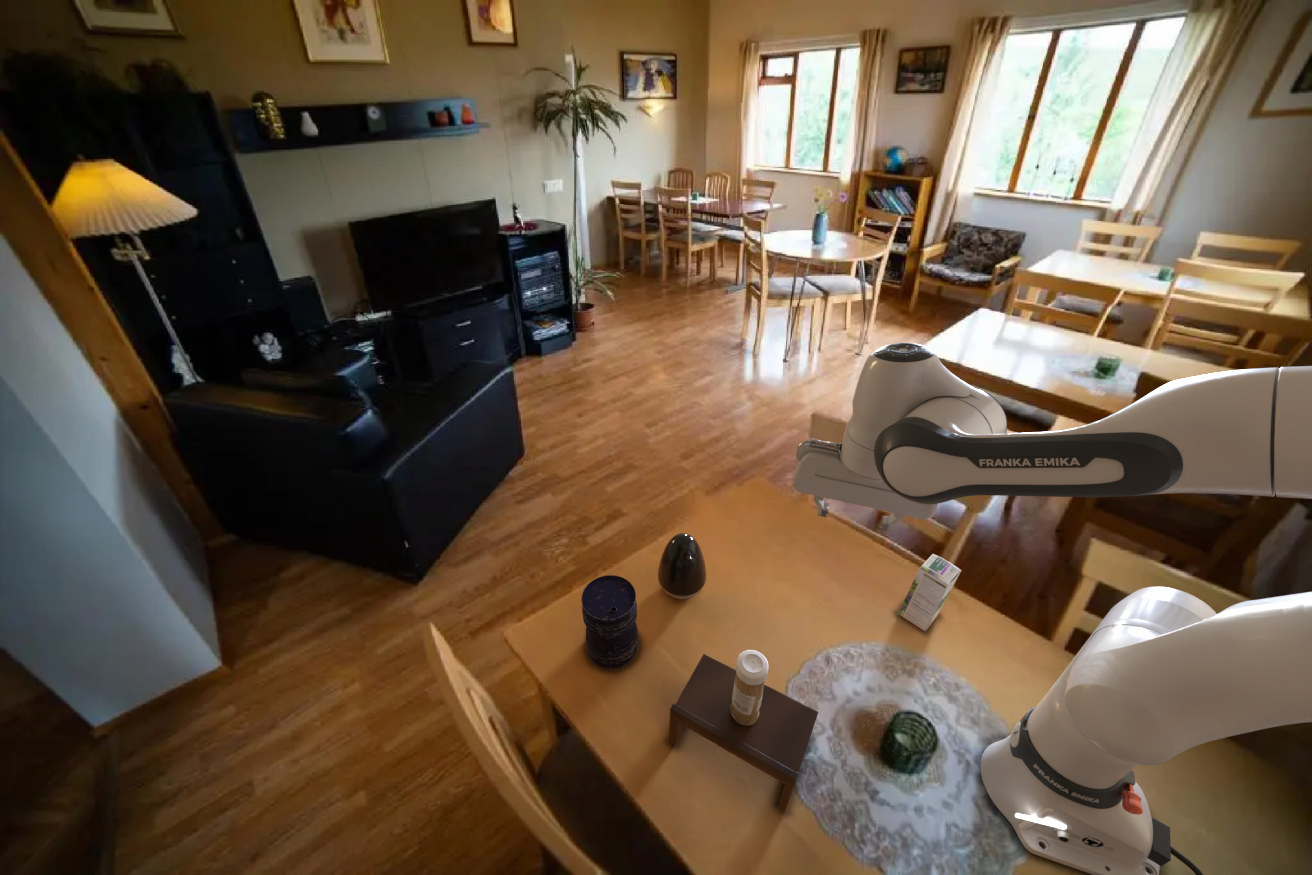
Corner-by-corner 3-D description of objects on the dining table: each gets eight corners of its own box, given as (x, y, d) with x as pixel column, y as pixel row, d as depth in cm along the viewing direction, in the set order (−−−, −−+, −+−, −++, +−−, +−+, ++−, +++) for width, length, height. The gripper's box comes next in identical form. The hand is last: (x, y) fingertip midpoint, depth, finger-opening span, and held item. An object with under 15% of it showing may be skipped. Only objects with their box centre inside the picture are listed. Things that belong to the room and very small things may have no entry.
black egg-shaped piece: (664, 612, 109) (665, 562, 100) (653, 573, 117) (652, 524, 108) (712, 602, 111) (716, 552, 102) (697, 565, 119) (700, 515, 110)
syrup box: (910, 598, 112) (931, 551, 103) (938, 616, 108) (962, 568, 100) (897, 614, 108) (917, 566, 100) (926, 633, 105) (949, 585, 96)
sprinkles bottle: (764, 716, 83) (775, 667, 75) (742, 732, 81) (751, 684, 73) (745, 692, 86) (754, 643, 78) (723, 707, 84) (730, 658, 76)
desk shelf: (809, 739, 88) (820, 706, 82) (785, 811, 80) (796, 780, 74) (701, 682, 97) (704, 647, 90) (669, 741, 88) (670, 708, 82)
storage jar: (581, 633, 105) (574, 583, 96) (628, 617, 108) (625, 568, 99) (595, 677, 97) (589, 628, 89) (645, 659, 100) (644, 609, 92)
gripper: (796, 448, 76) (783, 518, 84) (952, 479, 70) (922, 551, 78) (802, 425, 81) (789, 493, 89) (949, 452, 75) (921, 523, 83)
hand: (853, 521), depth 84 cm, fingers open, 8 cm apart
